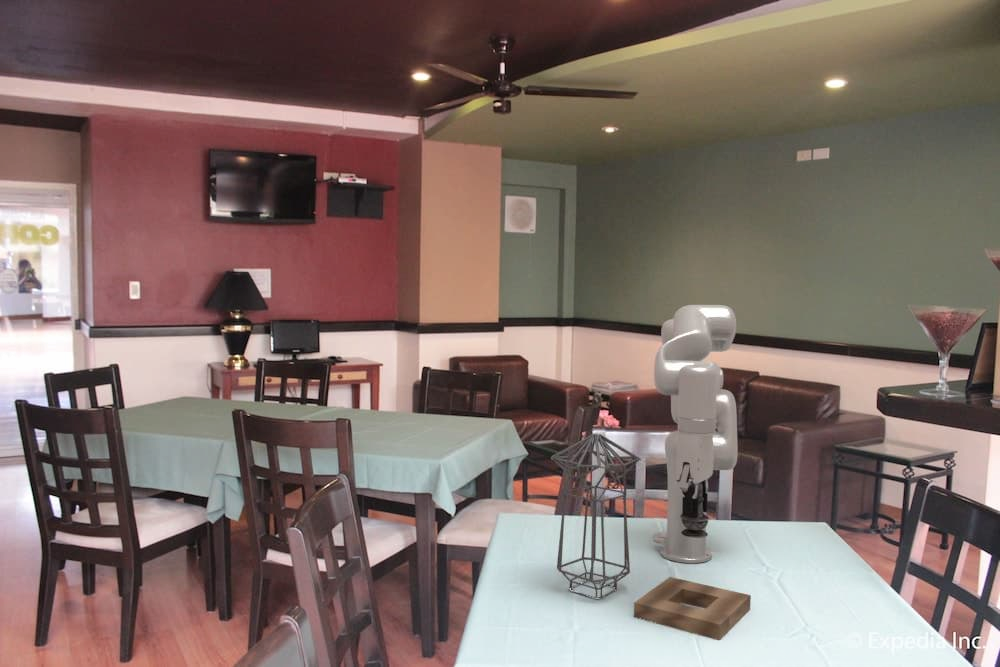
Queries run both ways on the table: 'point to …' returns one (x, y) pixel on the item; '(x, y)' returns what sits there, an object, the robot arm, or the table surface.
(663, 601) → the stand
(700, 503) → the salt shaker
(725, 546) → the table surface
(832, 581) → the table surface
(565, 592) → the table surface
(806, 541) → the table surface
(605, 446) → the geometric lantern
